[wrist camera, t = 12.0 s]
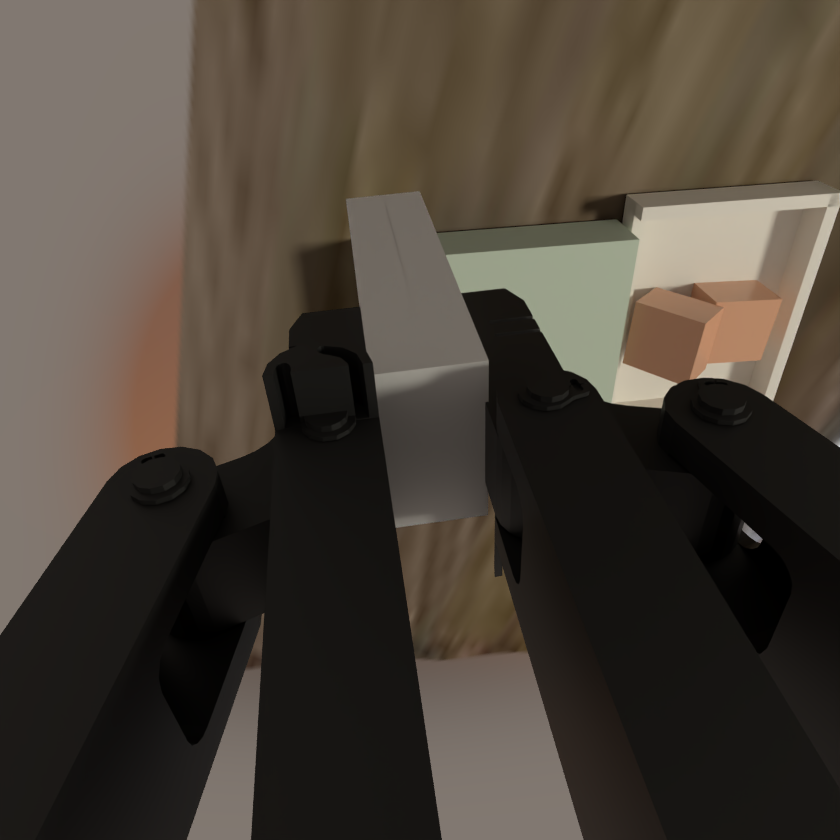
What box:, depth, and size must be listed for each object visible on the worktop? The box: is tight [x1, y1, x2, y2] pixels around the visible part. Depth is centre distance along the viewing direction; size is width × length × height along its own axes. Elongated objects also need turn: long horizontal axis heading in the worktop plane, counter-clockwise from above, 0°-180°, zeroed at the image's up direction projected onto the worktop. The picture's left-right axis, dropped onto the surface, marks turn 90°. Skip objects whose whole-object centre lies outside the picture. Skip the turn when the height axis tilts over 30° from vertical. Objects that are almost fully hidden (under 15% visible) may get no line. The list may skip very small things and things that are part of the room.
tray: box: [611, 181, 840, 408], centre depth 45 cm, size 16×13×2 cm
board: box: [437, 219, 640, 403], centre depth 43 cm, size 13×16×4 cm
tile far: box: [691, 280, 783, 364], centre depth 45 cm, size 4×4×3 cm
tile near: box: [623, 287, 724, 384], centre depth 44 cm, size 4×4×3 cm
